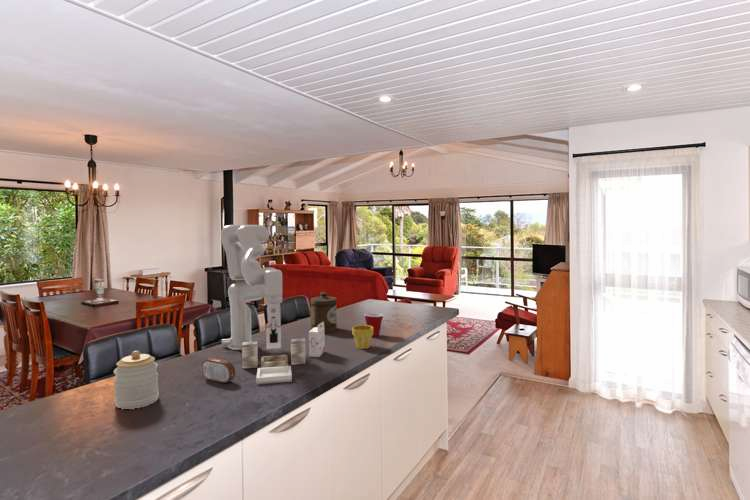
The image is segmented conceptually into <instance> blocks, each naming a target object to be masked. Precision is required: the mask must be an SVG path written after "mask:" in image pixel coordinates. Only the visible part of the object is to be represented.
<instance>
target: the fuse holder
mask: <svg viewBox="0 0 750 500" xmlns="http://www.w3.org/2000/svg"><path fill="white" fill-rule="evenodd" d="M258 352H259V351H258V341H253V342H243V343H242V350H241V355H242V357H241V359H242V361H241V362H242V369H252V368H253V369H254V368H259V367H258V366H259V364H258V363H259V361H258V360H259V357H258V354H259V353H258ZM288 357H289V356H288V354H281V355H280V354H278V355H277V354H276V355H263V356H261V359H260V368H267V367H280V366H289V359H288ZM306 362H307V361H306V338H305V337H304V338H291V339H290V363H291V364H290V366H292V365H304V364H306Z"/></svg>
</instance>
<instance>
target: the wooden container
mask: <svg viewBox="0 0 750 500" xmlns="http://www.w3.org/2000/svg"><path fill="white" fill-rule="evenodd" d="M319 294H320V296H315V297H311V298H310V317H309V318H310V320H309V321H310V324H309V325H310V326H309V327H310V330H312V329H313V328H315V327H318V325H319V324H320V323H322V322H324V334H328V333H329V332H330V333H334V332H336V331H337V329H338V326H337V324H338V323H337V322H338V321H337V320H338V319H337V317H338V316H337V314H338V313H337V297H334V296H328V295H327V292H326V291H322V292H320V293H319ZM320 327H322V325H321V326H320Z"/></svg>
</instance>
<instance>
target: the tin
mask: <svg viewBox="0 0 750 500" xmlns="http://www.w3.org/2000/svg"><path fill="white" fill-rule="evenodd" d="M201 370H202V374H203V376H204V378H206V379H207V380H209V381H213V382H218V383H220V384H221V383H222V384H227V383H229V382H231V381H233V380H234V379H235V377H236V369H235V367H234V365H233V363H232V362H231V361H229V360H228V359H224V358H223V359H222V358H217V357H213V356H212V357H208V359H205V360H204V361H203V362H202V364H201Z"/></svg>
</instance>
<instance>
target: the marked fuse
mask: <svg viewBox="0 0 750 500" xmlns="http://www.w3.org/2000/svg"><path fill="white" fill-rule="evenodd" d="M271 326H272V325H271ZM275 326H276V325H275ZM265 328H266V329H265V330H266V334H265V335H266V337H265V338H266V341H265V342H266V350H271V349H281V348H282V322H280V326H277V333H278V342H277V343H270V327H269V325H268V322H267V323H266V325H265Z"/></svg>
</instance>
